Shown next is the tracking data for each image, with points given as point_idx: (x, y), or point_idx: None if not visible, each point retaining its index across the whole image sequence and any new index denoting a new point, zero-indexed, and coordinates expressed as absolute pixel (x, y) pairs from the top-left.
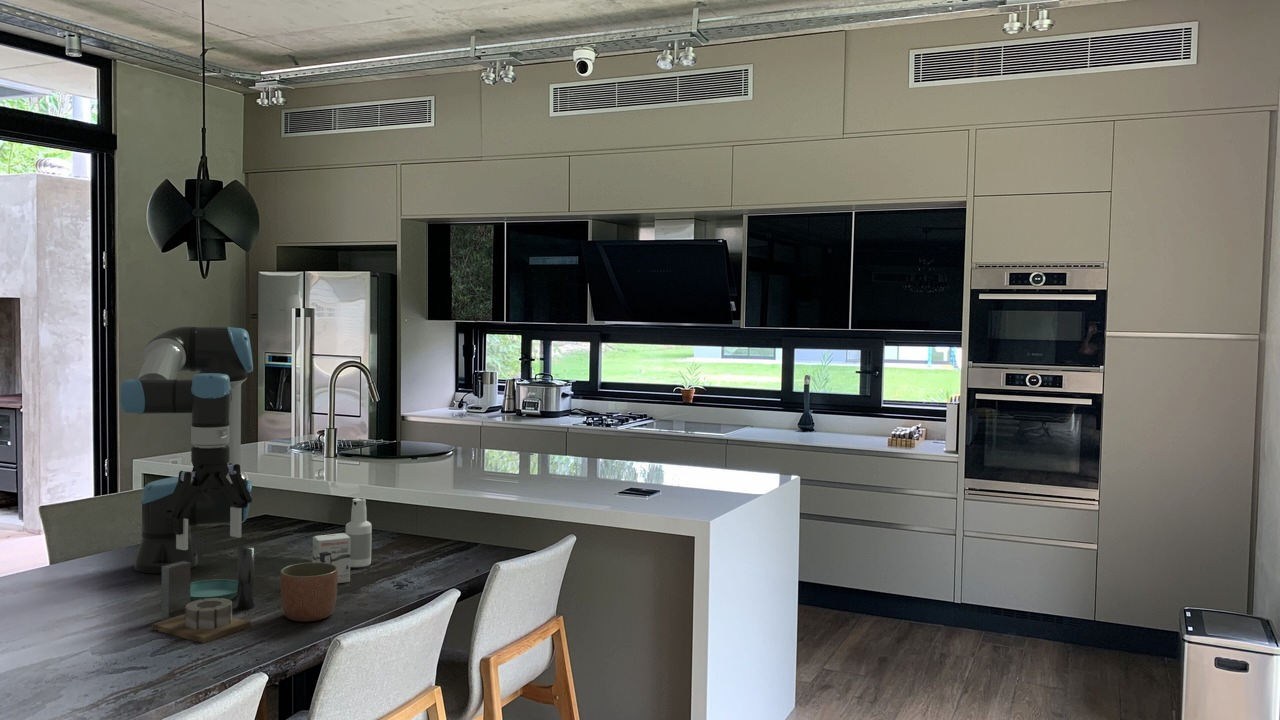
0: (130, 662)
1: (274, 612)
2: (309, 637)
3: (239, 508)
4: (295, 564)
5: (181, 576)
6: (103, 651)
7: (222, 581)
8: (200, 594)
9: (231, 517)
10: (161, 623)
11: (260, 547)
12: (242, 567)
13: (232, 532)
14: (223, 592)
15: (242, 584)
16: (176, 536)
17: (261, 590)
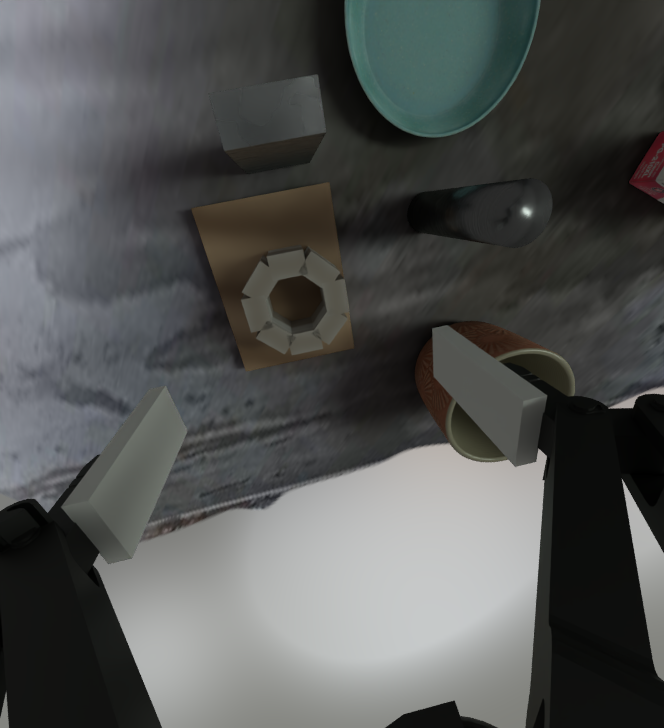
0: (104, 372)
1: (436, 294)
2: (382, 444)
3: (521, 464)
4: (531, 352)
5: (283, 149)
6: (62, 277)
7: None
8: None
9: (480, 377)
10: (210, 221)
11: None
12: (459, 230)
13: (440, 350)
14: (479, 17)
15: (435, 227)
16: (125, 423)
17: (545, 95)
